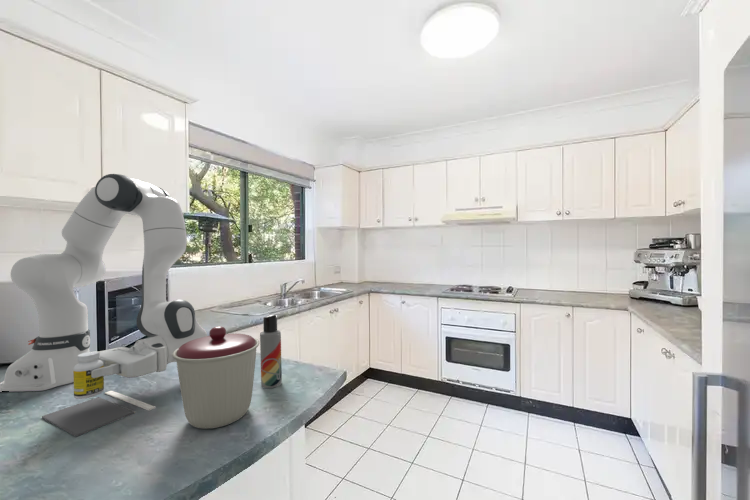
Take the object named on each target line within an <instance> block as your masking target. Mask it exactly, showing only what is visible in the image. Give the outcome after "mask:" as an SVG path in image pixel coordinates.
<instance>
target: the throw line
mask: <svg viewBox="0 0 750 500" xmlns="http://www.w3.org/2000/svg"><path fill="white" fill-rule="evenodd" d="M104 394H105V395H108V396H109V397H112V398H115V399H117V400H121V401H122V402H123V401H124V402H126V403H128V404H130V405H134V406H135V407H139V408H141V409H144V410H147V411H148V412H149V411H151V410H155V409H156V406H155V405H151V404H149V403H147V402H143V401H141V400H139V399H135V398H133V397H130V396H129V395H128V396H127V395H124V394H122V393H120V392H117V391H114V390H109V391H106V392H104Z"/></svg>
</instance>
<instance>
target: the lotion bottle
mask: <svg viewBox="0 0 750 500" xmlns="http://www.w3.org/2000/svg"><path fill="white" fill-rule="evenodd" d="M262 322H263V324H262V327H263V329H262V330H263V331H261V332H260V334H259V350H260V353H259V355H260V356H259V357H260V384H261V387H262V388H263V389H273V388H277V387H279V386H281V384H283V383H282V382H283V381H282V379H283V377H282V376H283V375H282V373H283V372H282V371H283V370H282V337H281V336H282V332H281V330H279V329H278V316H277V315H276V314H271V315H267V316H264V317H263V318H262Z"/></svg>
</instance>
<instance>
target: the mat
mask: <svg viewBox="0 0 750 500" xmlns="http://www.w3.org/2000/svg"><path fill="white" fill-rule="evenodd" d="M135 413H136V412H135V410H133V409H130V408H128V407H125V406H122V405H120V404H117V403H114V402H112V401H109V400H108V399H105V398H102V397H99V396H98V397H95V398H92V399H89V400H85V401H83V402H80V403H77V404H74V405H72V406H67V407H65V408H62V409H59V410H56V411H53V412H49V413H46V414H44V415H42V416H41V419H43V420H45V421H47V422H49V423H51V424H52V425H53V426H56V428H57V427H58V428H59V429H61V430H63V431H65V432H66V433H68V434H70V435H72V436H74V437H75V438H76V437H80V436H82V435H84V434H87V433H89V432H91V431H95V430H96V429H98V428H101V427H102V428H103V426H106V425H107V426H108V425H110V424H111V423H114V422H116V421H119V420H121V419H124V418H126V417H128V416H131V415H135Z"/></svg>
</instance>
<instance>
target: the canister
mask: <svg viewBox="0 0 750 500" xmlns="http://www.w3.org/2000/svg"><path fill="white" fill-rule="evenodd" d="M258 347H260V340H259V339H257V338H255V337H253V336H251V335H248V334H245V333H227V329H226V328H225V326H223V325H219V326H214V327H211V329H210V330H209V335H207V336H206V337H202V338H198V339H194V340H191V341H189V342H187V343H185V344H183V345H182V346H181V347H179V348H178V349H176V350H175V351H174V352H173V354H172V356H173V358H174V359H176V361H177V362H176V367H177V373H178V374H177V375H178V382H179V388H180V394H181V395H180V396H181V400H182V406H183V410H184V411H183V412H184V416H185V418H186V420H187V422H188V424H190V425H191V426H192V427H194V428H197V429H202V430H204V429H207V430H209V429H216V428H221V427H224V426H228V425H230V424H232V423H235V422H236V421H238V420H240V419H241V418H242V417H244V416H245V415H246V414H247V412H248V411H249V408H250V406H251V403H252V398H253V397H252V396H253V389H254V381H255V371H256V370H255V369H256V358H257V348H258Z"/></svg>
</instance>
